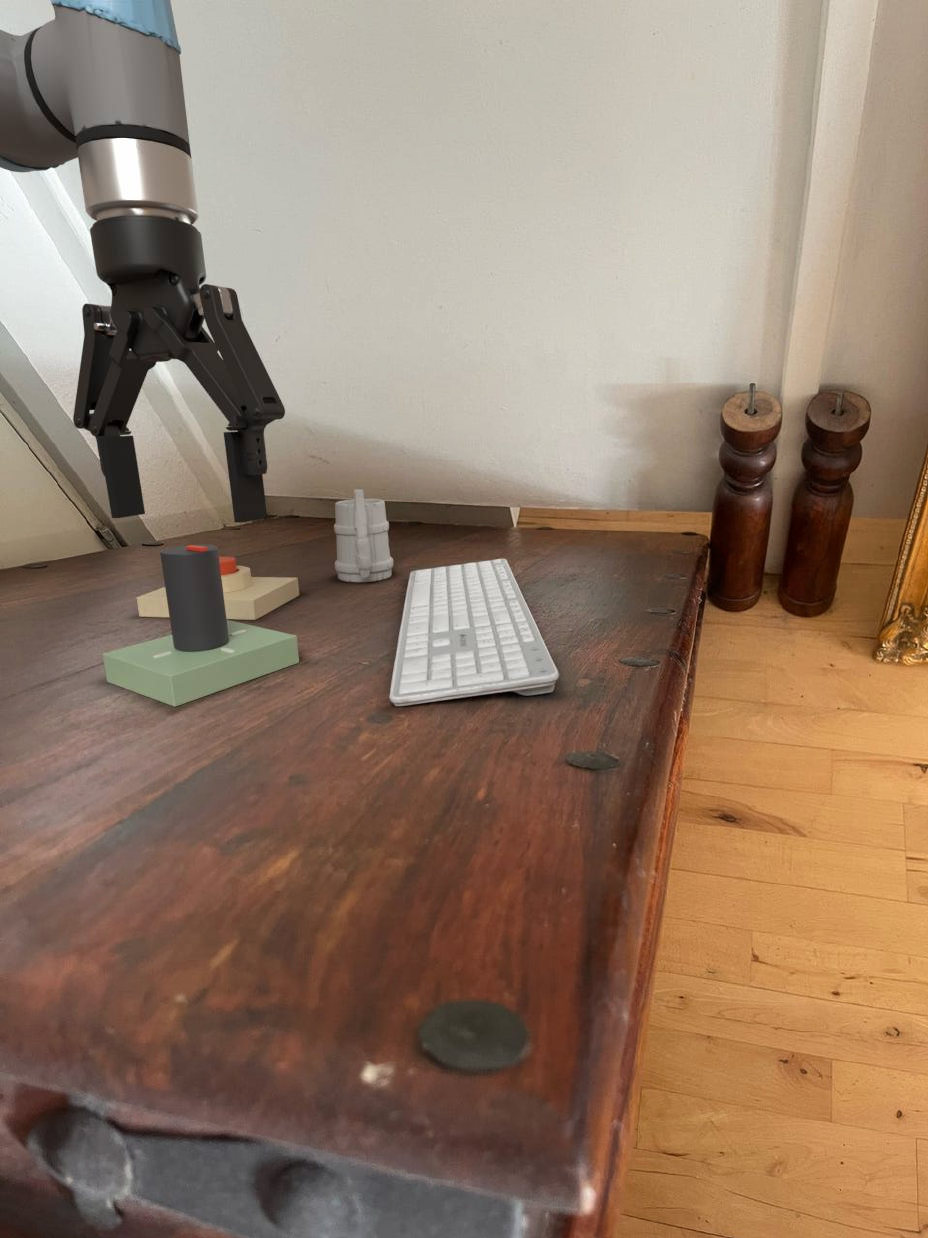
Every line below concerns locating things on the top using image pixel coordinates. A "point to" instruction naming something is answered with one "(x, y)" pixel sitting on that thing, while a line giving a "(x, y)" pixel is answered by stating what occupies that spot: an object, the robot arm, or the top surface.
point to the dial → (195, 597)
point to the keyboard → (468, 637)
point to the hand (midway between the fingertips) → (186, 518)
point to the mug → (362, 539)
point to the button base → (234, 596)
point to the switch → (227, 565)
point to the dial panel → (199, 664)
